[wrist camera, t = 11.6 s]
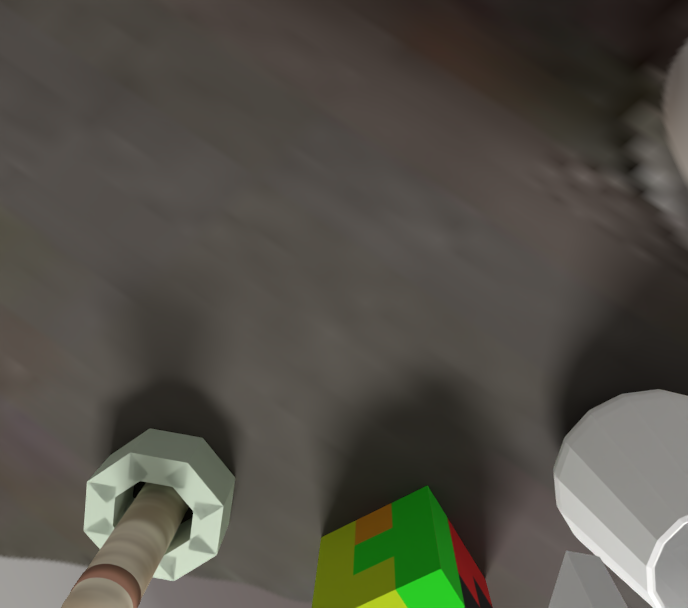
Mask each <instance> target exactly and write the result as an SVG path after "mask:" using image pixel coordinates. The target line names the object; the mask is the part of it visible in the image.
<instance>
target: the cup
mask: <svg viewBox="0 0 688 608" xmlns="http://www.w3.org/2000/svg"><path fill="white" fill-rule="evenodd" d="M553 472H554V483H555V494H556V504H557V507H558V509H559V510H560V512H561V514H562V515H563V517H564V519H565V520H566V522H567V524H568V525H569V527H570V529H571V530H572V532H573V534H574V535H575V536H576V537H577V539H578V540H580V541H581V542H582V543H583V544H584V545H585V546H586V547H587V548H588V549H589V550H590V551H592V552H593V553H594V554H595V555H596V556H598V557H600V558H601V560H602V561H603V562H604V563H605V564H606V565H607V566H608V567H609V568H610V569H611V570H612V571H614V572H615V573H616V574H617V575H618V576H619V577H620V578H621V579H622V580H623V581H625V582H626V583H627V584H628V585H629V586H630V587H631V588H632V589H633V590H634V591H635V592H637V593H638V594H639V595H640V596H641V597H642V598H643V599H644V600H645V601H646V602H648V603H649V604H650V605H651V606H652V607H653V608H688V396H686V395H682V394H678V393H674V392H670V391H665V390H661V389H656V390H648V391H640V392H632V393H625V394H620V395H618V396H616V397H614V398H612V399H610V400H608V401H606V402H604V403H602V404H600V405H598V406H596V407H594V408H592V409H590V410H589V411H588V412H587V413H586V414H585V415H584V416H583V417H582V418H581V419H580V421H579V422H578V423H577V424H576V425H575V426H574V427H573V428H572V429H571V430H570V432H569V433H568V434H567V435H566V436H565V437H564V440H563V443H562V445H561V448H560V451H559V454H558V456H557V459H556V462H555V465H554V467H553Z"/></svg>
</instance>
